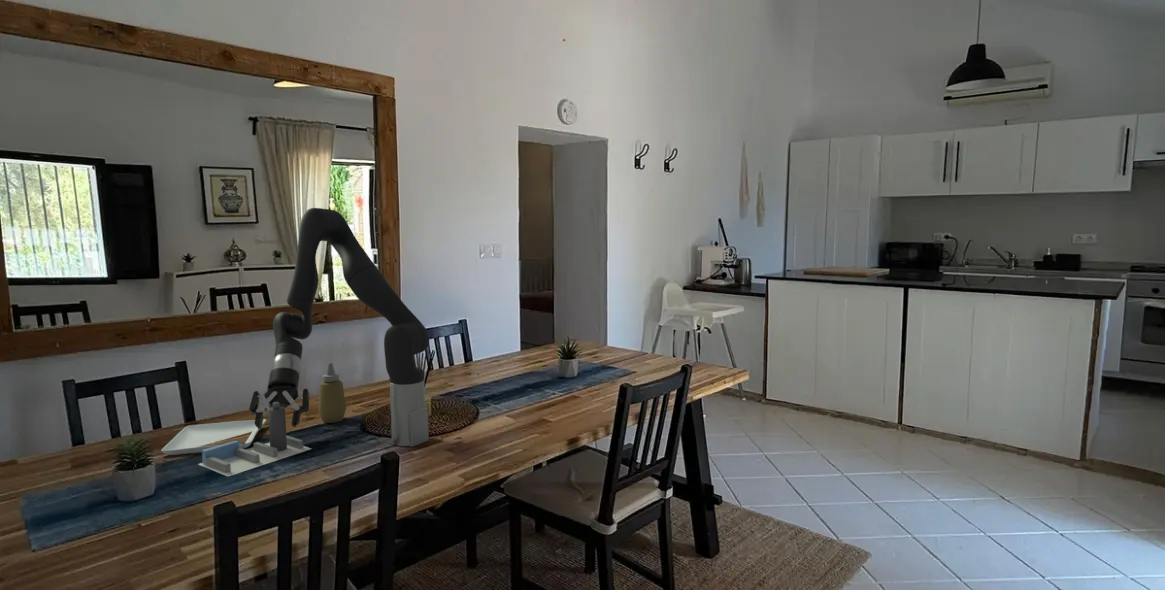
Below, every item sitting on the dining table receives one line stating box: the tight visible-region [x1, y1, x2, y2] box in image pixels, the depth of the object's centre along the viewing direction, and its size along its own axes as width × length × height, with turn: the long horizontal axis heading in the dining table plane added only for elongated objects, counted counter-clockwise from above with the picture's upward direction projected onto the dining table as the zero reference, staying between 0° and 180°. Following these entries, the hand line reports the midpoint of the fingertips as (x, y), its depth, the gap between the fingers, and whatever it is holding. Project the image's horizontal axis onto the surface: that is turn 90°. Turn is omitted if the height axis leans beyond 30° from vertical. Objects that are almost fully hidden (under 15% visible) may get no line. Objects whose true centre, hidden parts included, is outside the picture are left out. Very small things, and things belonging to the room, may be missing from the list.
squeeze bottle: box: [317, 362, 347, 424], centre depth 195 cm, size 8×8×18 cm
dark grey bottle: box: [267, 402, 287, 452], centre depth 168 cm, size 4×4×13 cm
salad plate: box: [161, 418, 267, 456], centre depth 176 cm, size 21×21×3 cm
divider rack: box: [197, 434, 312, 477], centre depth 163 cm, size 14×22×4 cm, turn 147°
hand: (276, 426), depth 167 cm, fingers open, 8 cm apart
